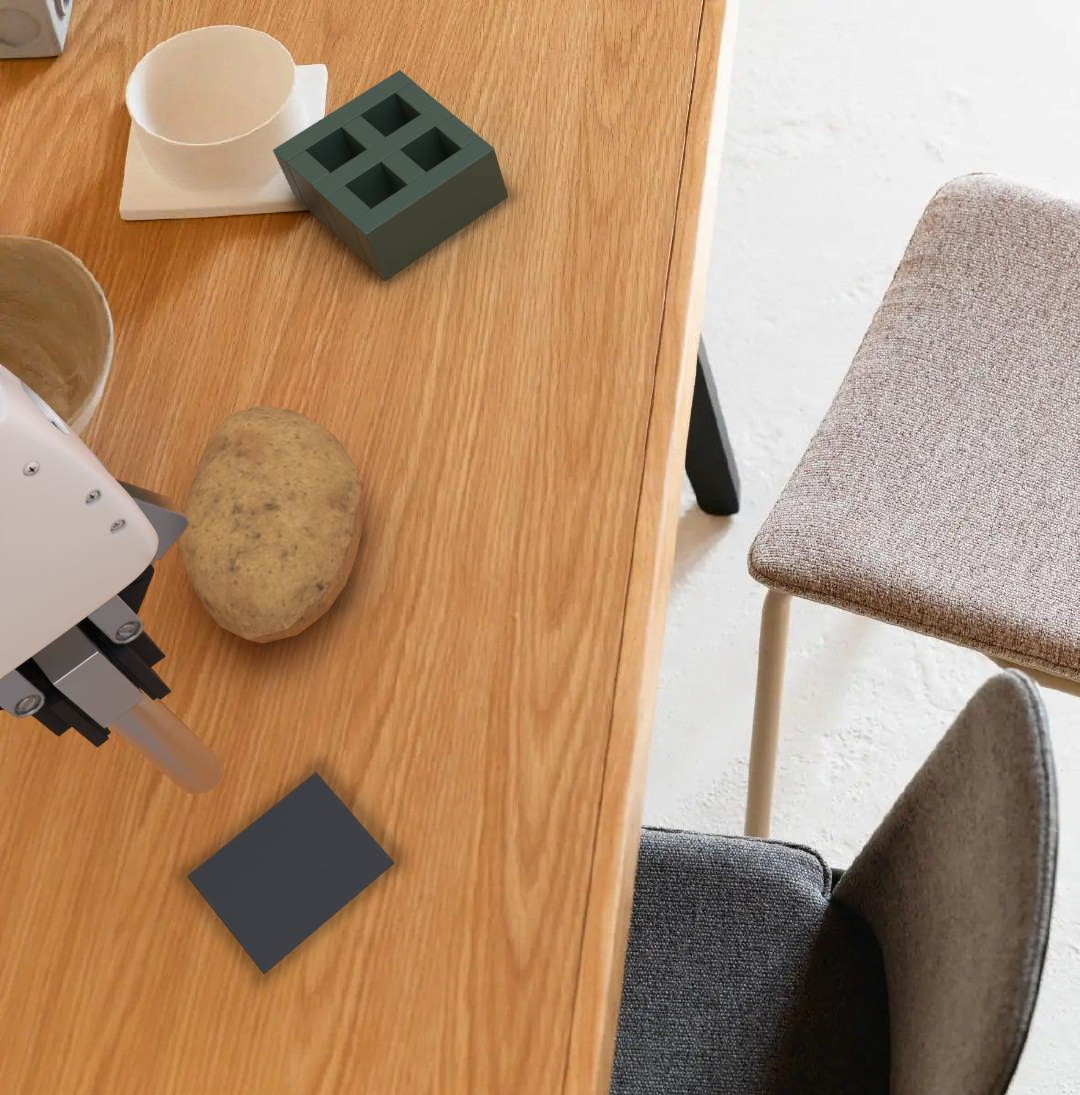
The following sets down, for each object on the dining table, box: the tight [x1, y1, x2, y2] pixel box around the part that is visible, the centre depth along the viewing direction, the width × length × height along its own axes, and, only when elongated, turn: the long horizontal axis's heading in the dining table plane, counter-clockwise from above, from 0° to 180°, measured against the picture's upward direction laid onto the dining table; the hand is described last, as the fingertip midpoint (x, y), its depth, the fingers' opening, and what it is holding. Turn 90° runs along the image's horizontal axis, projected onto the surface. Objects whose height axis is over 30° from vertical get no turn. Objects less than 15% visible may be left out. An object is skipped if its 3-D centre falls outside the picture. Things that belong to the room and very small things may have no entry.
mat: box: [187, 771, 395, 975], centre depth 75 cm, size 7×8×1 cm
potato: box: [176, 404, 366, 644], centre depth 81 cm, size 10×14×8 cm
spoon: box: [32, 622, 224, 795], centre depth 58 cm, size 4×2×14 cm, turn 45°
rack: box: [272, 69, 509, 282], centre depth 95 cm, size 10×10×5 cm
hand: (114, 693), depth 57 cm, fingers closed on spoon, 2 cm apart
